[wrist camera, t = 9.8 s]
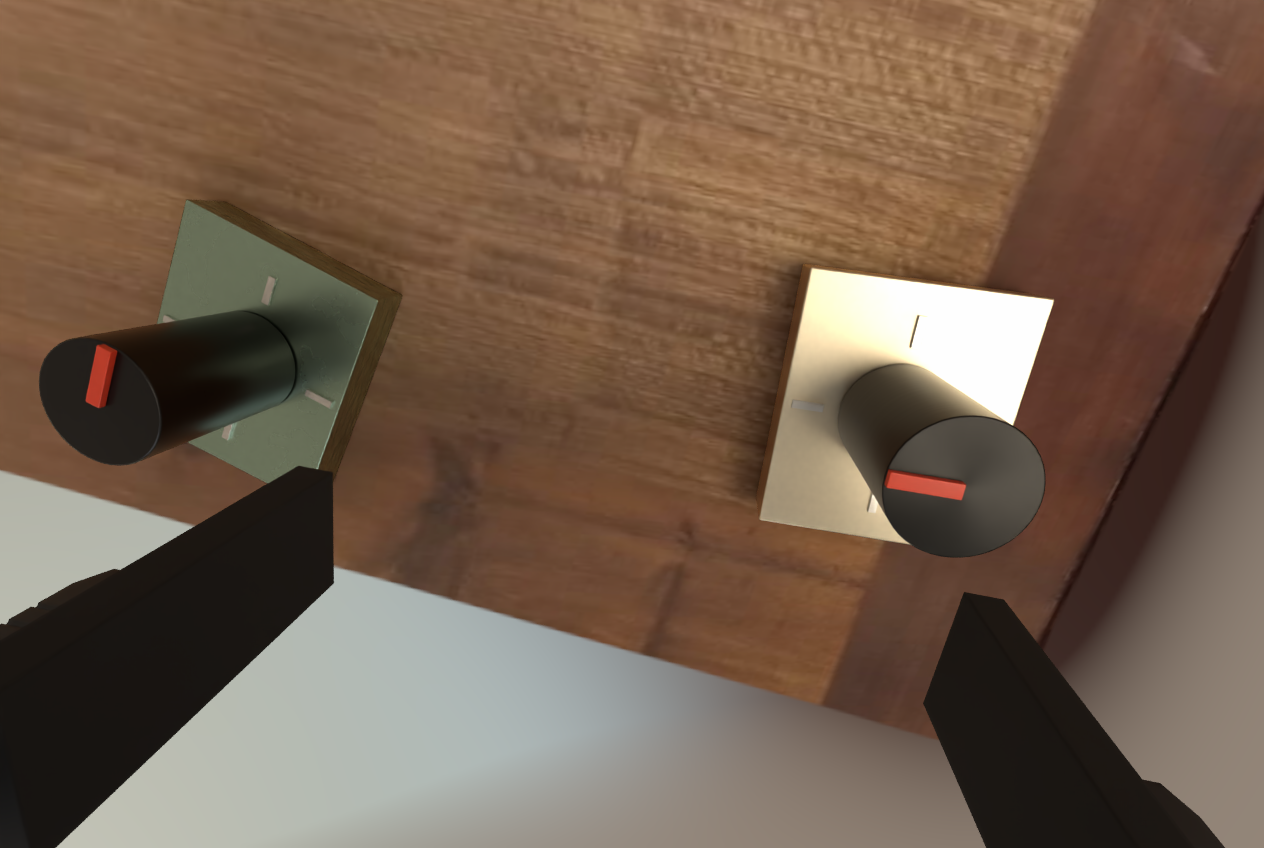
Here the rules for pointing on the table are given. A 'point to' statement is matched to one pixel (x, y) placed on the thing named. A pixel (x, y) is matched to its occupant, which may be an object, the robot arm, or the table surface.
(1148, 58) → the table surface
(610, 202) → the table surface
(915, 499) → the front knob
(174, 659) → the robot arm
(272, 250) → the back panel
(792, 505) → the front panel
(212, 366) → the back knob
